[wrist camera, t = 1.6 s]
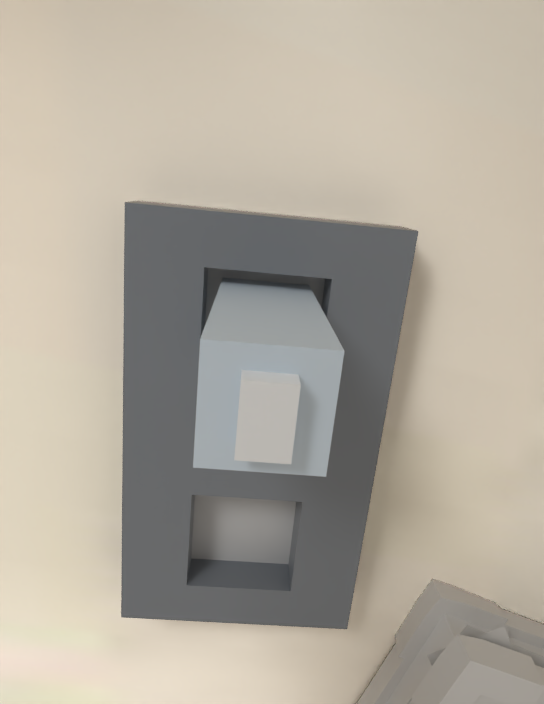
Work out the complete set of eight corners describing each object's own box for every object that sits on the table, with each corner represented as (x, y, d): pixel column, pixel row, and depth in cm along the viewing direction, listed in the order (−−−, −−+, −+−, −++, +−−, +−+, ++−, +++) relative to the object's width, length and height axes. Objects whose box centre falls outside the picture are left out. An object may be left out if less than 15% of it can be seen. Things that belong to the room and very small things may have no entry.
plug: (222, 277, 23) (196, 347, 13) (309, 285, 24) (349, 360, 13) (217, 359, 25) (189, 482, 14) (299, 366, 25) (329, 491, 15)
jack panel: (138, 200, 23) (124, 202, 20) (401, 226, 23) (418, 231, 21) (132, 582, 29) (121, 617, 27) (339, 593, 30) (346, 629, 27)
